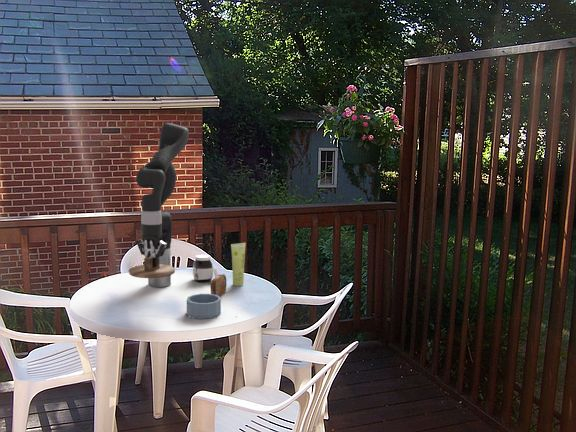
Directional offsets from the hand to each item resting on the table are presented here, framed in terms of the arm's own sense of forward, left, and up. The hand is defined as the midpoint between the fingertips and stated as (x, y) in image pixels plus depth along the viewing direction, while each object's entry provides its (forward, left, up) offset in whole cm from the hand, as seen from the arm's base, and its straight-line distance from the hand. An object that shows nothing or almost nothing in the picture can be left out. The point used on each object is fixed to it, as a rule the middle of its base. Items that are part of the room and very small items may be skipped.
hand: (152, 266), depth 224 cm
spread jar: (-8, +51, -19) cm, 55 cm away
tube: (+8, +52, -19) cm, 56 cm away
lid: (0, 0, -2) cm, 2 cm away
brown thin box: (+9, +34, -19) cm, 40 cm away
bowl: (+17, +11, -19) cm, 27 cm away
